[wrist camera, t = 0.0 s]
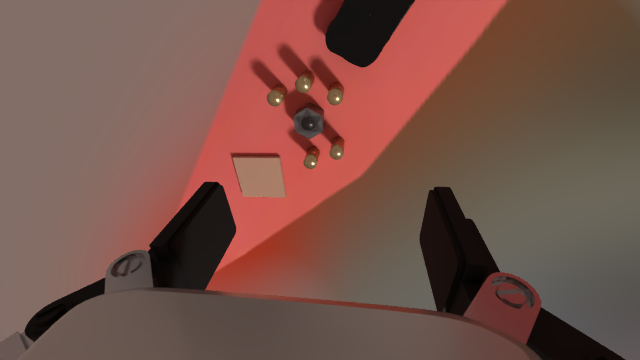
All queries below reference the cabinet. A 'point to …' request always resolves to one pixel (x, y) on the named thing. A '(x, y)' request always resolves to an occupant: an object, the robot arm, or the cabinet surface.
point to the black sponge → (364, 28)
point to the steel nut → (309, 120)
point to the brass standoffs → (333, 97)
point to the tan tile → (260, 176)
